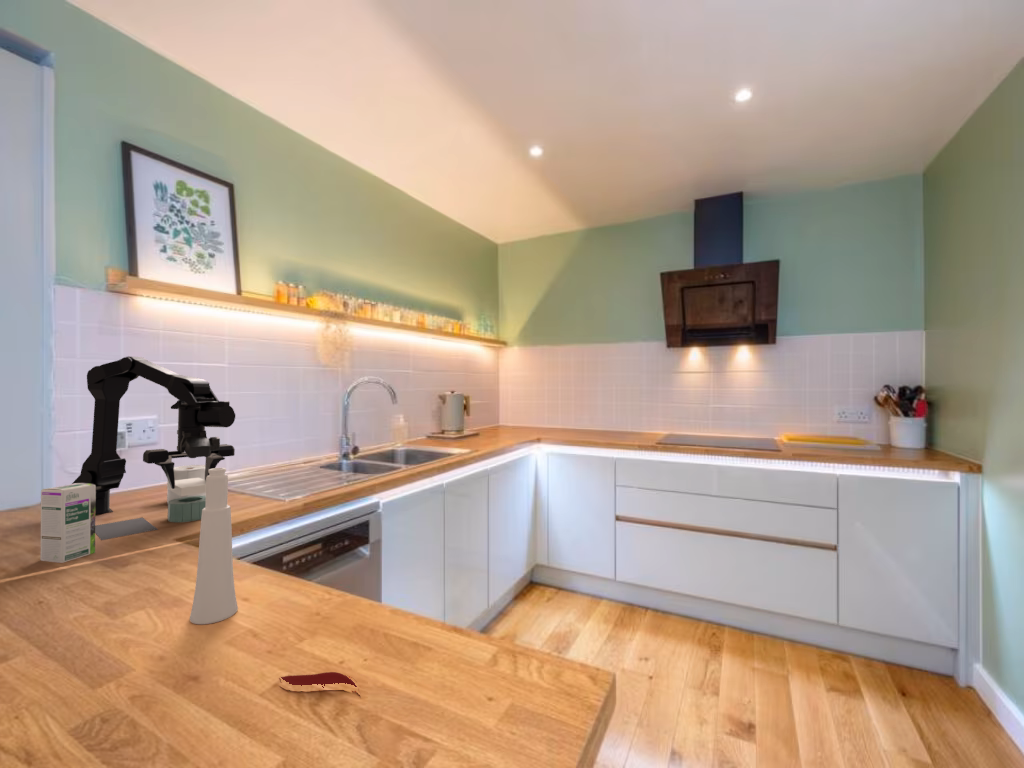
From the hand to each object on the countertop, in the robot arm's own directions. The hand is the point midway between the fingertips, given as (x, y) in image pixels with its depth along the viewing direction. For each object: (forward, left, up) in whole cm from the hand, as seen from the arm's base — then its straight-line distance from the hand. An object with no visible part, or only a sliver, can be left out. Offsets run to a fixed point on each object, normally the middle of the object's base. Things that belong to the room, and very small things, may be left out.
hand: (190, 486), depth 115 cm
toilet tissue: (-22, +6, -9) cm, 24 cm away
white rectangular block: (0, 0, -1) cm, 1 cm away
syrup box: (+14, -24, -9) cm, 29 cm away
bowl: (0, 0, -9) cm, 9 cm away
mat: (-1, -13, -9) cm, 15 cm away
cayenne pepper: (+89, -11, -9) cm, 90 cm away
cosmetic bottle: (+61, -13, -9) cm, 63 cm away
